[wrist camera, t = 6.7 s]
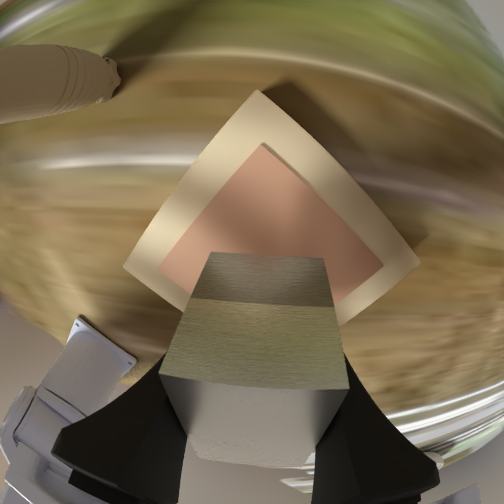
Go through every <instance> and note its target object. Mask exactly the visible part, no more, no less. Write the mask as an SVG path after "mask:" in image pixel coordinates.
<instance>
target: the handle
mask: <svg viewBox="0 0 504 504" xmlns="http://www.w3.org/2000/svg"><path fill="white" fill-rule="evenodd" d="M120 82H121V78H120V77H119V75H118V73H117V63H116V62H115V61H114V60H112V59H110V58H108V57H105V56H103V57H101V56H99V55H97V54H94V53H92V52H89V51H85V50H81V49H77V48H72V47H67V46H59V45H18V46H6V47H0V124H2V123H8V122H14V121H20V120H27V119H34V118H40V117H46V116H51V115H56V114H60V113H64V112H69V111H73V110H76V109H80V108H83V107H86V106H89V105H91V104H93V103H94V102H96V103H103V102H106V101H108V100H109V99H110V98H111V97H112V93H113V91H114V90H115V88H116V87H117V86H119V85H120Z"/></svg>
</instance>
